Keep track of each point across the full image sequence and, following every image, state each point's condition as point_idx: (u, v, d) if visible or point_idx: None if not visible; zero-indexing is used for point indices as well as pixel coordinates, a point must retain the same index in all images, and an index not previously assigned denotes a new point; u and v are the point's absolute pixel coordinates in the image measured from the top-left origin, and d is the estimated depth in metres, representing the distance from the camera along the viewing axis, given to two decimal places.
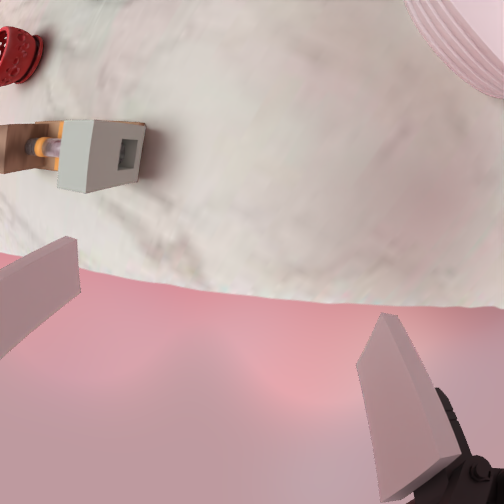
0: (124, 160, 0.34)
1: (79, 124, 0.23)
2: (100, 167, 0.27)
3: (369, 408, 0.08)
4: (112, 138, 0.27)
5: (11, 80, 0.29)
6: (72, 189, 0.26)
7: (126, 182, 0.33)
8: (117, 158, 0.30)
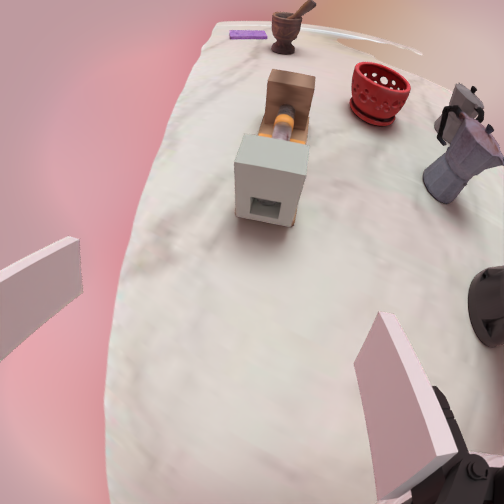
0: (258, 204, 0.39)
1: (302, 160, 0.30)
2: (257, 179, 0.32)
3: (367, 406, 0.08)
4: (283, 193, 0.33)
5: (355, 94, 0.50)
6: (240, 149, 0.31)
7: (236, 205, 0.37)
8: (262, 197, 0.35)
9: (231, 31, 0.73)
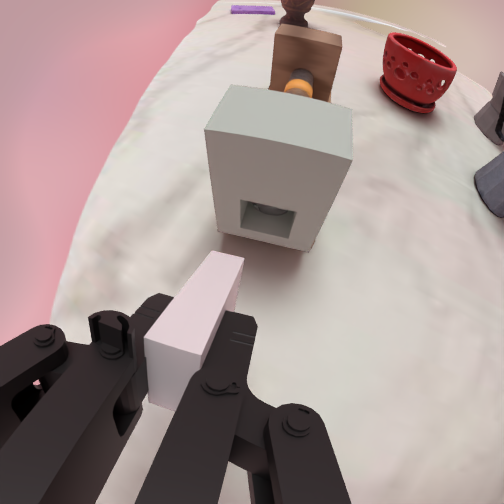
0: (256, 212, 0.23)
1: (343, 132, 0.14)
2: (251, 166, 0.16)
3: None
4: (302, 194, 0.17)
5: (388, 69, 0.34)
6: (219, 107, 0.15)
7: (217, 213, 0.22)
8: (262, 201, 0.19)
9: (233, 6, 0.58)
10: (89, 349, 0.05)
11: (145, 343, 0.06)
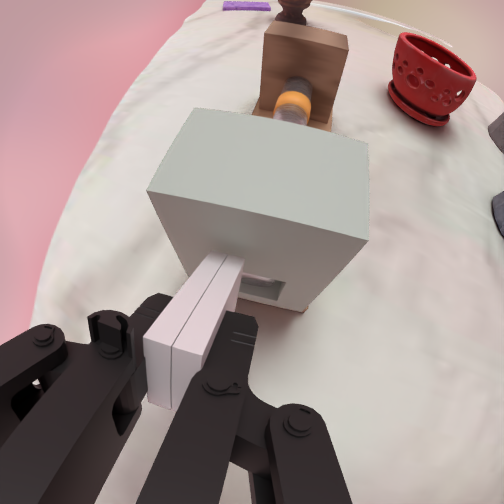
0: None
1: (355, 188, 0.10)
2: (220, 236, 0.11)
3: None
4: (293, 268, 0.13)
5: (400, 75, 0.29)
6: (173, 148, 0.10)
7: (189, 272, 0.17)
8: None
9: (225, 2, 0.52)
10: (88, 349, 0.05)
11: (144, 343, 0.06)
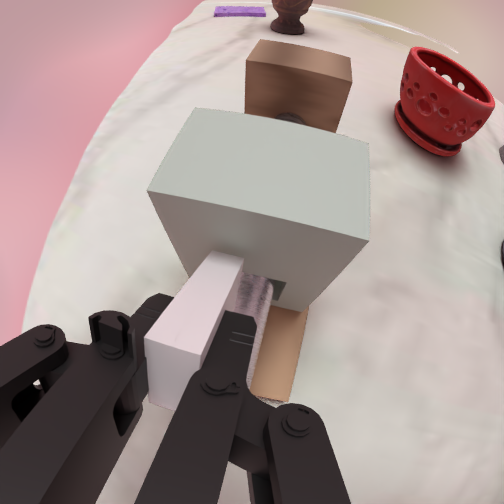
0: None
1: (356, 188, 0.10)
2: (221, 236, 0.11)
3: None
4: (294, 269, 0.13)
5: (409, 99, 0.26)
6: (173, 148, 0.10)
7: (189, 272, 0.17)
8: None
9: (218, 7, 0.49)
10: (89, 349, 0.05)
11: (145, 343, 0.06)
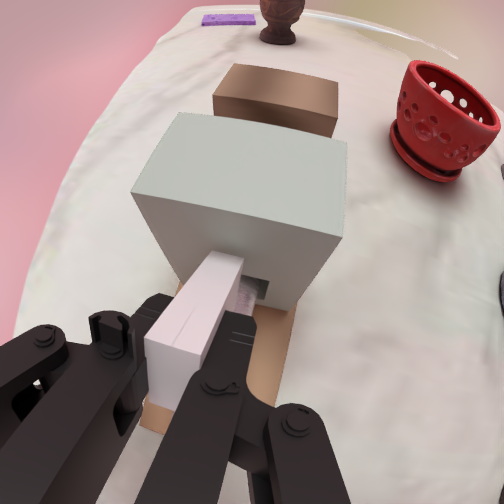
0: None
1: (331, 186, 0.10)
2: (202, 235, 0.12)
3: None
4: (274, 267, 0.13)
5: (406, 121, 0.25)
6: (156, 152, 0.11)
7: (177, 272, 0.18)
8: None
9: (206, 16, 0.48)
10: (89, 349, 0.05)
11: (145, 343, 0.06)
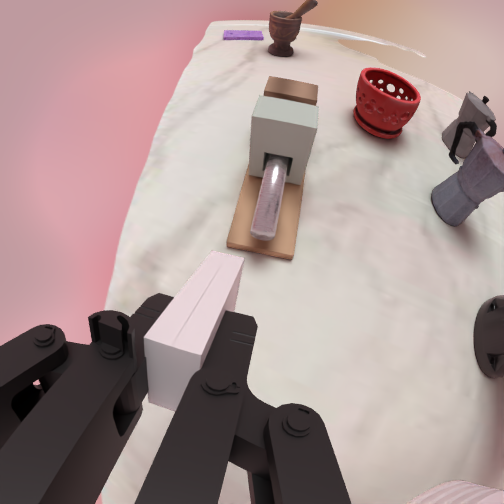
0: None
1: (313, 117, 0.31)
2: (272, 133, 0.33)
3: None
4: (296, 147, 0.34)
5: (360, 104, 0.46)
6: (256, 106, 0.32)
7: (250, 162, 0.39)
8: (275, 152, 0.36)
9: (225, 31, 0.69)
10: (89, 349, 0.05)
11: (145, 343, 0.06)
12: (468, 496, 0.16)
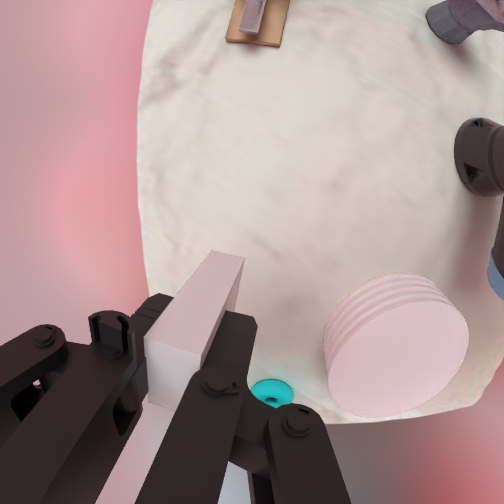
0: None
1: None
2: None
3: None
4: None
5: None
6: None
7: None
8: None
9: None
10: (89, 349, 0.05)
11: (145, 343, 0.06)
12: (424, 292, 0.38)
